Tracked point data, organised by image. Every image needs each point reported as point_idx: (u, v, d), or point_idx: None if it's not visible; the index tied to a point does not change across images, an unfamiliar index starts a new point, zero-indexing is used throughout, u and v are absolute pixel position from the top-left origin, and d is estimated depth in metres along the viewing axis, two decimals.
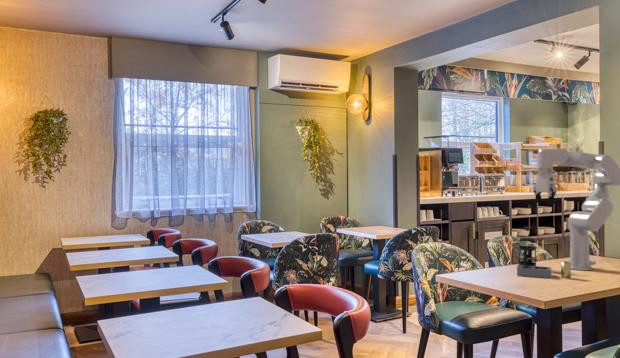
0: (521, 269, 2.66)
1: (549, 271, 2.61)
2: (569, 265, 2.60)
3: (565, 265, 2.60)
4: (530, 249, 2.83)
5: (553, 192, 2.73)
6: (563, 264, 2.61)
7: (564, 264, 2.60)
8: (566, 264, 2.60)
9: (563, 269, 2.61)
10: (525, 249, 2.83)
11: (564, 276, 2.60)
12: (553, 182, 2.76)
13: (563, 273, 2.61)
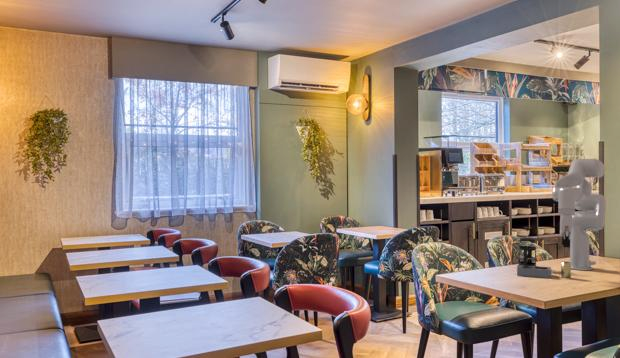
0: (521, 269, 2.66)
1: (549, 271, 2.61)
2: (569, 265, 2.60)
3: (565, 265, 2.60)
4: (530, 249, 2.83)
5: None
6: (563, 264, 2.61)
7: (564, 264, 2.60)
8: (566, 264, 2.60)
9: (563, 269, 2.61)
10: (525, 249, 2.83)
11: (564, 276, 2.60)
12: None
13: (563, 273, 2.61)
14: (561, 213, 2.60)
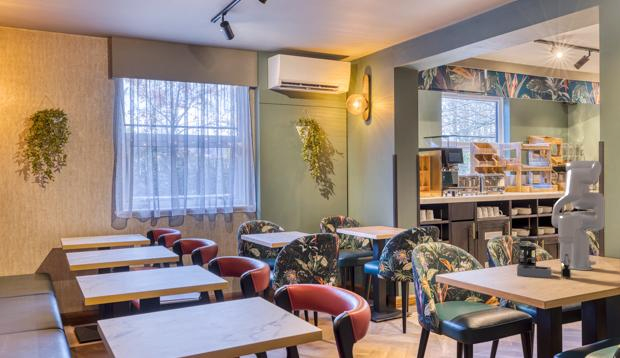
0: (521, 269, 2.66)
1: (549, 271, 2.61)
2: (569, 265, 2.60)
3: None
4: (530, 249, 2.83)
5: None
6: None
7: None
8: None
9: None
10: (525, 249, 2.83)
11: None
12: None
13: None
14: (561, 241, 2.60)
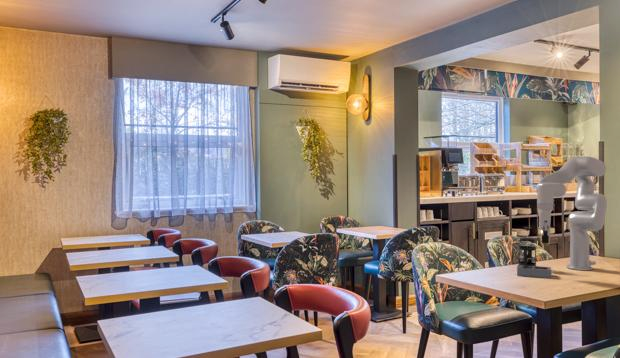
0: (521, 269, 2.66)
1: (549, 271, 2.61)
2: (548, 231, 2.64)
3: None
4: (530, 249, 2.83)
5: None
6: None
7: None
8: None
9: None
10: (525, 249, 2.83)
11: None
12: None
13: None
14: (540, 208, 2.64)
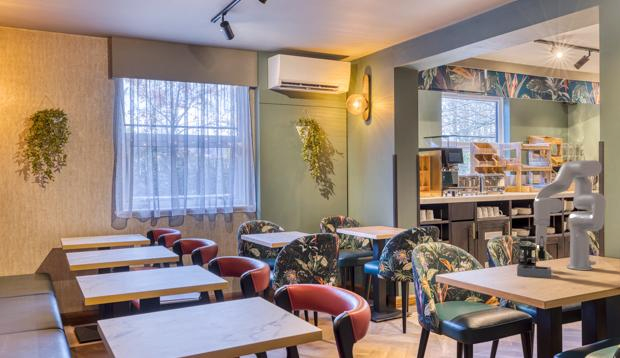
0: (521, 269, 2.66)
1: (549, 271, 2.61)
2: (545, 247, 2.65)
3: None
4: (530, 249, 2.83)
5: None
6: (538, 246, 2.66)
7: None
8: None
9: None
10: (525, 249, 2.83)
11: None
12: None
13: None
14: (536, 223, 2.65)
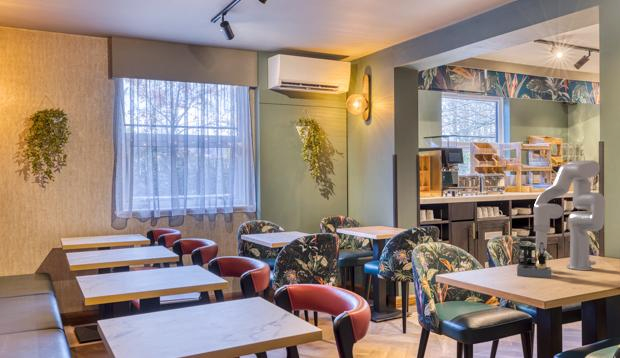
0: (521, 269, 2.66)
1: (549, 271, 2.61)
2: (545, 263, 2.65)
3: None
4: (530, 249, 2.83)
5: None
6: None
7: None
8: None
9: (539, 267, 2.66)
10: (525, 249, 2.83)
11: None
12: None
13: None
14: (536, 230, 2.65)
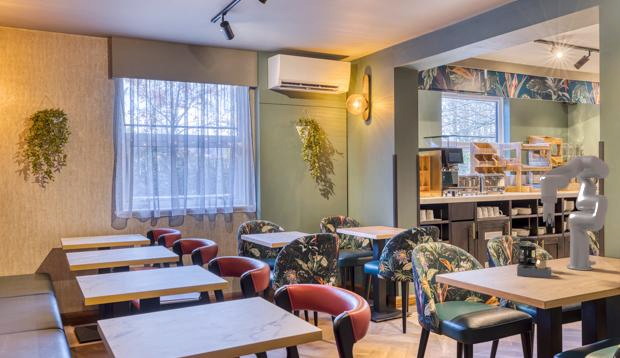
0: (521, 269, 2.66)
1: (549, 271, 2.61)
2: (545, 263, 2.65)
3: (540, 263, 2.65)
4: (530, 249, 2.83)
5: None
6: (539, 262, 2.66)
7: (539, 262, 2.65)
8: (541, 262, 2.65)
9: (539, 267, 2.66)
10: (525, 249, 2.83)
11: None
12: None
13: None
14: (543, 201, 2.66)
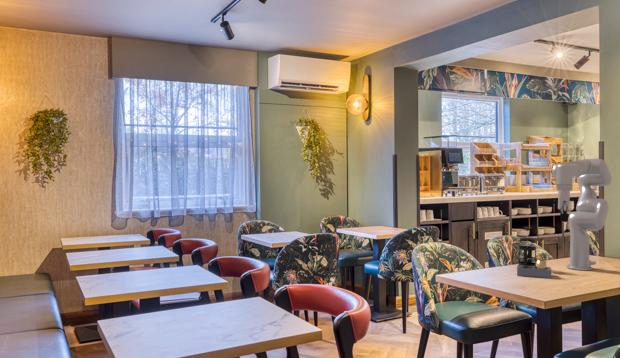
0: (521, 269, 2.66)
1: (549, 271, 2.61)
2: (545, 263, 2.65)
3: (540, 263, 2.65)
4: (530, 249, 2.83)
5: None
6: (539, 262, 2.66)
7: (539, 262, 2.65)
8: (541, 262, 2.65)
9: (539, 267, 2.66)
10: (525, 249, 2.83)
11: None
12: None
13: None
14: (559, 188, 2.68)
